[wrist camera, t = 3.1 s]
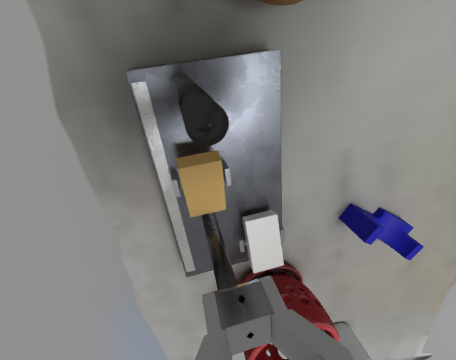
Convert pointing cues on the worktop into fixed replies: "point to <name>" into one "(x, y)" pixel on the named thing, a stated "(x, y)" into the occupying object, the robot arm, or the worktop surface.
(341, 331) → the milk bottle
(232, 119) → the panel
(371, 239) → the cable clip
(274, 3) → the onion
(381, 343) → the worktop surface
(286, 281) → the plant pot
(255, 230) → the rocker ivory
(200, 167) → the tan block
